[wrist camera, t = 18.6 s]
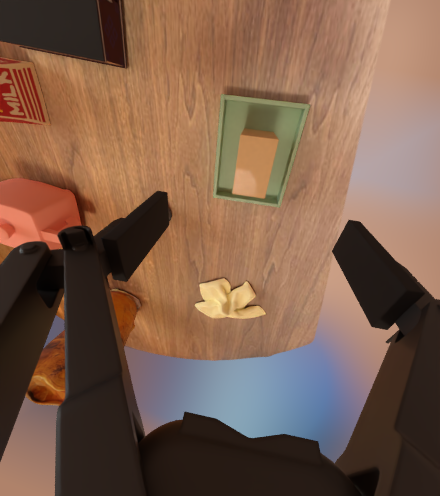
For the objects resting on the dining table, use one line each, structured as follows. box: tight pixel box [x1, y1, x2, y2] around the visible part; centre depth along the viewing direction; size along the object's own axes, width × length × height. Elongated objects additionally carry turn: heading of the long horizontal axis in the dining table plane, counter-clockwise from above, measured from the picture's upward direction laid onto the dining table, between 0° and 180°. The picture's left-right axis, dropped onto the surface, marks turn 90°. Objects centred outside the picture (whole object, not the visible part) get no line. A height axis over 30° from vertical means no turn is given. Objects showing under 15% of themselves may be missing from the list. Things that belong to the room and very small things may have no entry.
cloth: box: [195, 278, 266, 319], centre depth 58 cm, size 22×19×6 cm
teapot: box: [0, 178, 82, 250], centre depth 44 cm, size 22×13×14 cm, turn 76°
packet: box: [232, 128, 279, 199], centre depth 32 cm, size 5×8×10 cm, turn 174°
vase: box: [26, 288, 141, 406], centre depth 56 cm, size 21×20×30 cm
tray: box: [213, 94, 310, 207], centre depth 35 cm, size 13×16×3 cm
